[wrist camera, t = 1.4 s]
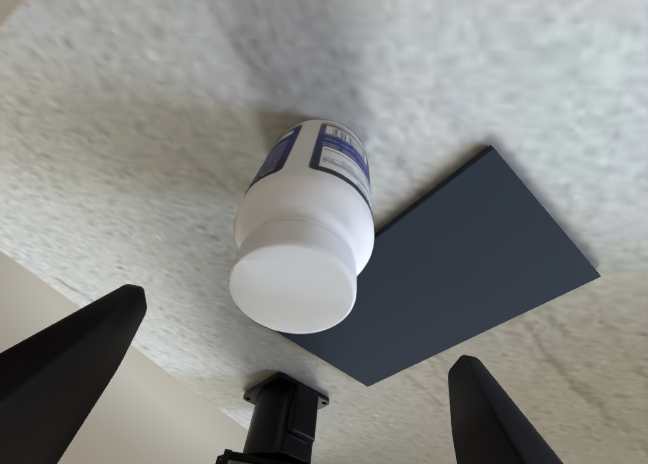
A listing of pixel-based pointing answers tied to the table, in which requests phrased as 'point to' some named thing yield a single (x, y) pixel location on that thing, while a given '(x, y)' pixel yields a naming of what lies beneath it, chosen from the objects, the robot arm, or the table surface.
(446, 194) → the rubber mat
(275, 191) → the pill bottle
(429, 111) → the table surface
